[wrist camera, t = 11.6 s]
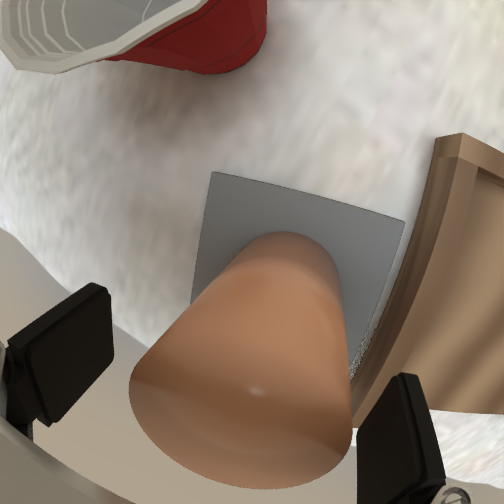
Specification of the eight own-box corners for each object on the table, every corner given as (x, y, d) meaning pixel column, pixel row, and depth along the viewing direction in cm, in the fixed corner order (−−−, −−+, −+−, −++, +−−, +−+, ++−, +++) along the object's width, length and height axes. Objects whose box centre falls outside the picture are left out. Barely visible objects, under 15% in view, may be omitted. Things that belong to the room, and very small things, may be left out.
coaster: (189, 332, 21) (186, 336, 20) (215, 171, 17) (211, 171, 17) (342, 376, 19) (342, 381, 19) (402, 220, 16) (405, 222, 15)
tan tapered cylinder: (242, 218, 17) (126, 300, 7) (354, 249, 16) (396, 379, 6) (215, 352, 20) (138, 479, 10) (306, 378, 19) (281, 525, 9)
